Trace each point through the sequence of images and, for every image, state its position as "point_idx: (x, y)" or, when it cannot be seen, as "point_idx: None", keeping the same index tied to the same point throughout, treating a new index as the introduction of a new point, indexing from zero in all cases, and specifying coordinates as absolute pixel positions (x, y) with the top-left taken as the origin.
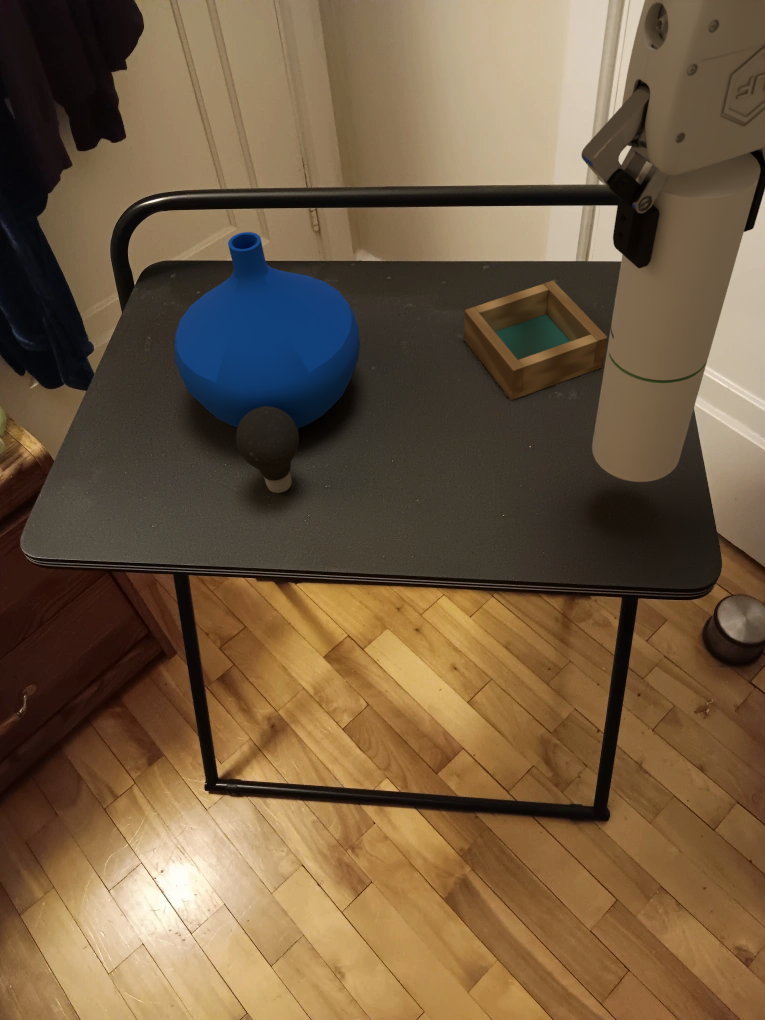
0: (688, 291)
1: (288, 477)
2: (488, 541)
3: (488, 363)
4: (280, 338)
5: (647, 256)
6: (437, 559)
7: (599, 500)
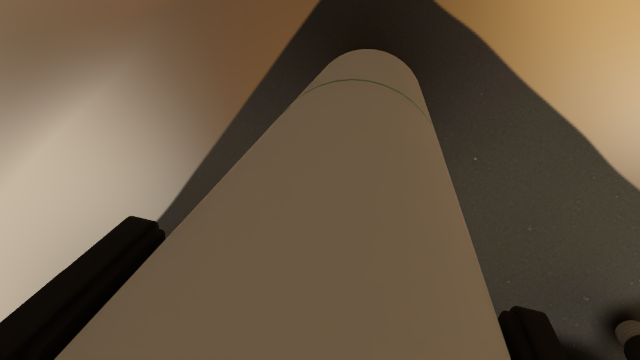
0: (419, 172)
1: (632, 331)
2: (515, 142)
3: None
4: None
5: (539, 333)
6: (576, 158)
7: None
